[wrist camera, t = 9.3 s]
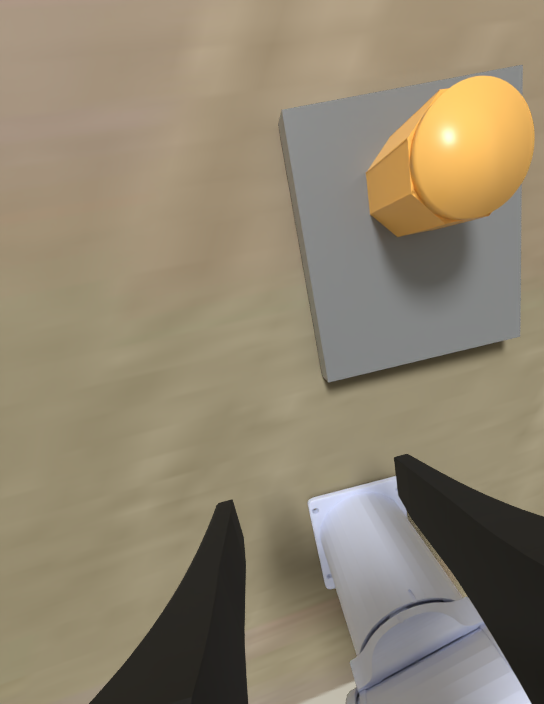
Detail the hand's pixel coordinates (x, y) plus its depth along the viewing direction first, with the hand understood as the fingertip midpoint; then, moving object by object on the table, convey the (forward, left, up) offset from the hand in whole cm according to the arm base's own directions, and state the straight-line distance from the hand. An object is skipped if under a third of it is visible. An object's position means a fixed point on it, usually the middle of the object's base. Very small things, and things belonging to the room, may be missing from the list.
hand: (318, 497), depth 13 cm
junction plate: (+10, -10, -9) cm, 17 cm away
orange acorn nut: (+13, -10, -8) cm, 18 cm away
